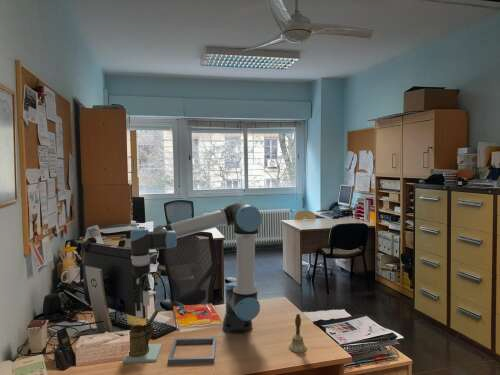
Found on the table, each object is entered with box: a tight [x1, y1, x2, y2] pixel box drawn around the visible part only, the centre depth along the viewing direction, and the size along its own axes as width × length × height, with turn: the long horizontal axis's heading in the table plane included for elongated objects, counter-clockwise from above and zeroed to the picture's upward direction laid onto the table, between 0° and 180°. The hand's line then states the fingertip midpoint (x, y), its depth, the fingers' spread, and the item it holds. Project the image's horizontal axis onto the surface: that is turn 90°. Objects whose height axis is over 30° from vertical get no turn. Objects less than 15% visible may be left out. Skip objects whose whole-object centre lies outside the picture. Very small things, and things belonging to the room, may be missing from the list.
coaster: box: [122, 343, 163, 363], centre depth 173 cm, size 14×14×1 cm
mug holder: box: [167, 337, 217, 365], centre depth 174 cm, size 19×19×2 cm
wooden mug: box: [129, 310, 159, 357], centre depth 172 cm, size 9×14×18 cm, turn 102°
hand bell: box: [288, 313, 307, 354], centre depth 176 cm, size 8×8×16 cm
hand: (143, 311), depth 172 cm, fingers open, 13 cm apart
